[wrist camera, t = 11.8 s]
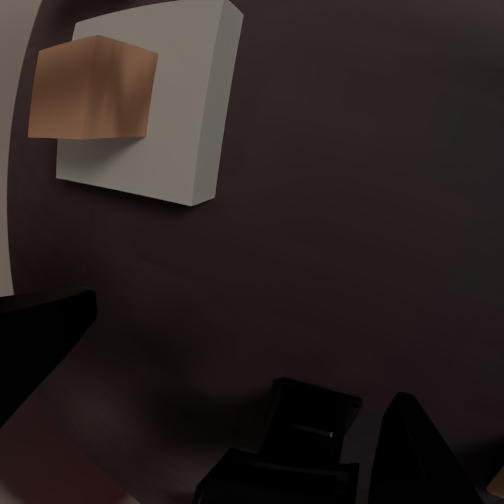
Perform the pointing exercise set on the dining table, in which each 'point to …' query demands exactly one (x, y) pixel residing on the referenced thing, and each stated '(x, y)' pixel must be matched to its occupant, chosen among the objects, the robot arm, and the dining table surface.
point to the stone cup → (497, 484)
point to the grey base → (166, 103)
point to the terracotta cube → (92, 90)
